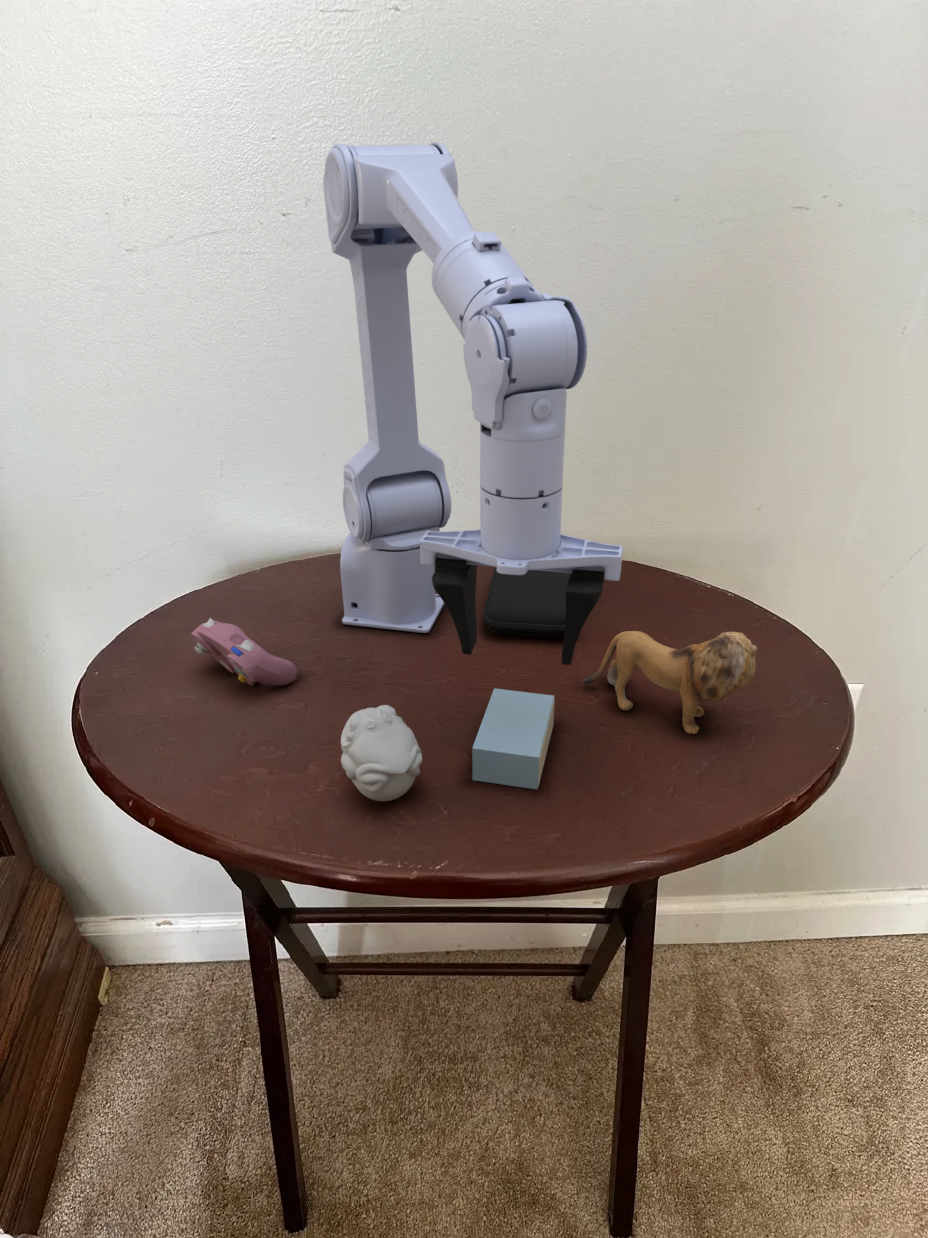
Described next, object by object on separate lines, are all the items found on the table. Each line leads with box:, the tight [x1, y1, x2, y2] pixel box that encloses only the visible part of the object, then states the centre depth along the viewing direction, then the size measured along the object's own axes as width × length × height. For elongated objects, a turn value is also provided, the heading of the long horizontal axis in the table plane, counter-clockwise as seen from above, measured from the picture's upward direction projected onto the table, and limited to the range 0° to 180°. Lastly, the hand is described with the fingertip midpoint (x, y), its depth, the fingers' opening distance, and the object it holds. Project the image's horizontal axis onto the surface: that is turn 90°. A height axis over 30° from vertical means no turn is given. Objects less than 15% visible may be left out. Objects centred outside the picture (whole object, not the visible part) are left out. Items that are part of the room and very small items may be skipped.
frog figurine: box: [340, 704, 423, 802], centre depth 64 cm, size 6×7×7 cm
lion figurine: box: [581, 630, 758, 735], centre depth 73 cm, size 15×5×9 cm, turn 62°
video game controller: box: [190, 617, 298, 687], centre depth 79 cm, size 10×5×7 cm, turn 47°
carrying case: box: [482, 567, 571, 639], centre depth 91 cm, size 11×3×15 cm
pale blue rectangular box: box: [471, 688, 555, 790], centre depth 69 cm, size 5×8×3 cm, turn 167°
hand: (518, 653), depth 66 cm, fingers open, 7 cm apart
